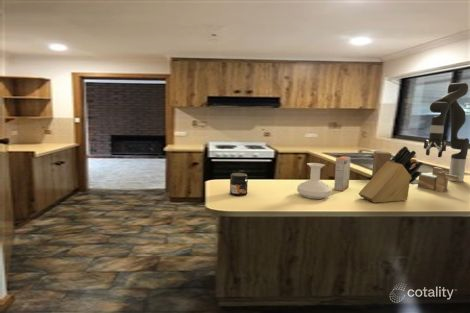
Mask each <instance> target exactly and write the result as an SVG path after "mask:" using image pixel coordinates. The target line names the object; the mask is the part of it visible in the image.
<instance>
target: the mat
mask: <svg viewBox="0 0 470 313" xmlns="http://www.w3.org/2000/svg"><path fill="white" fill-rule="evenodd" d="M418 181H419V179H418V178H416V179H415V180H414V181H413V182H412V183H411V184H412V185H416V184H417V185H418ZM411 184H410V185H411Z"/></svg>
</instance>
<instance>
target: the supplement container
mask: <svg viewBox="0 0 470 313" xmlns="http://www.w3.org/2000/svg"><path fill="white" fill-rule="evenodd" d="M229 194H230V195H231V196H233V195H234V196H233V197H245V196H247V195H248V174H247V173H243V172H233V173H231V174H230V179H229Z"/></svg>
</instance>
